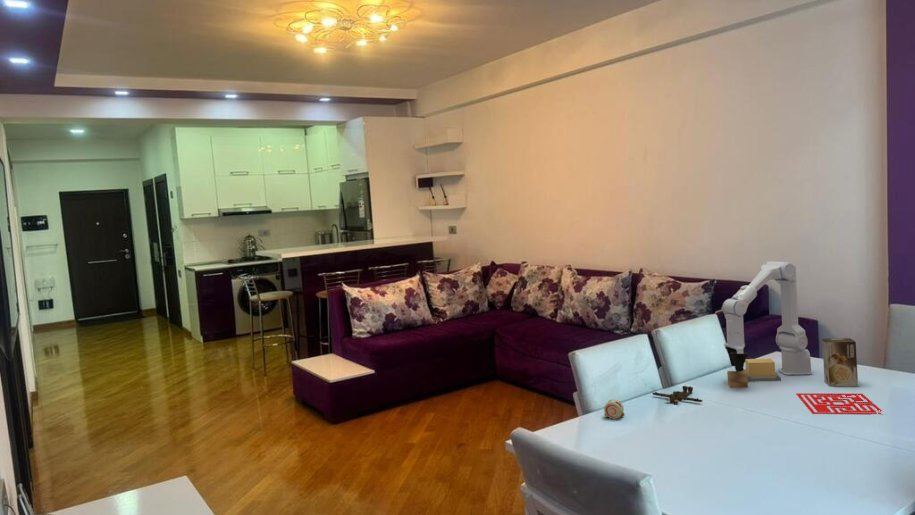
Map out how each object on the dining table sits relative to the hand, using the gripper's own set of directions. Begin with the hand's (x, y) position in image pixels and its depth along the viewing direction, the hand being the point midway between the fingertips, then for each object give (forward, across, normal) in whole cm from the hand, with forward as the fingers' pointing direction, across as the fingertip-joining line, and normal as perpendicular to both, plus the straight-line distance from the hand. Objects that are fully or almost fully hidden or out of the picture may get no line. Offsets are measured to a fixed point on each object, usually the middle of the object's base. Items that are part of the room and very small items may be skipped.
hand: (736, 368), depth 226 cm
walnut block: (+7, 0, 0) cm, 7 cm away
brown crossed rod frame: (+7, +14, -22) cm, 27 cm away
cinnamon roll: (+7, +33, -45) cm, 56 cm away
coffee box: (+7, 0, +34) cm, 35 cm away
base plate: (+6, -11, +10) cm, 16 cm away
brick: (+5, -11, +10) cm, 16 cm away
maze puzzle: (+7, +21, +26) cm, 34 cm away
